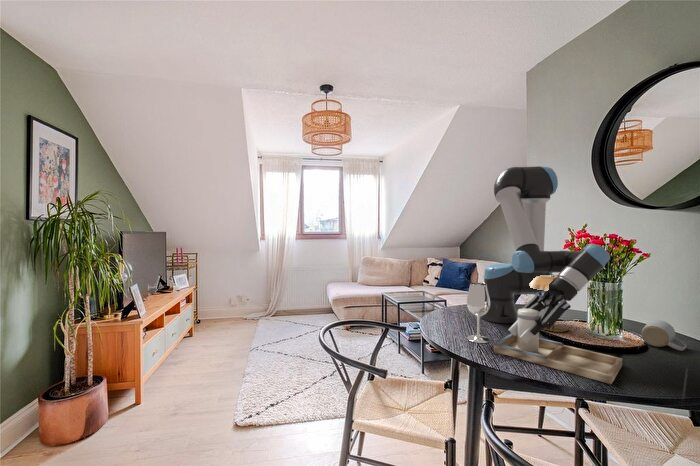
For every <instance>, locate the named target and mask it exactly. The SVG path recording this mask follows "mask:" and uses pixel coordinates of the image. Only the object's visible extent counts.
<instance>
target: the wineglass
mask: <svg viewBox="0 0 700 466" xmlns="http://www.w3.org/2000/svg"><path fill="white" fill-rule="evenodd" d="M466 306H467V309H468V310H469V312H470V313H471V314H472V315H473V316H476V323H477V324H476V325H477V326H476V327H477V328H476V329H477V330H476V332H477V333H476V334H470V335H468V336H467V338H466V340H468V341H470V342H472V343H475V344H476V343H477V344H486V343H487V344H488V343H489V342H490V340H491V339H490V337H489V338H488V337H486V336H483V335H481V334H480V322H481V321H480V319H481V317H480V316H482V315H485V314H486V313H487V312H488V311H489V309H490V297H489V291H488V287H487V284H485V283H484V282H471V283H470V284H469V288H468V292H467V298H466Z"/></svg>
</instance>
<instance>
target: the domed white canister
mask: <svg viewBox="0 0 700 466" xmlns="http://www.w3.org/2000/svg"><path fill="white" fill-rule="evenodd" d="M517 314H518V348H519V349H521V350H525V351H530V352H536V351H538V350H539V338H540V331H539V332H538V333H537V334H536V335H535V336H534V337H533V338H532V339H531V340H530V341H529V342H528V343H525V342H524V341H523V340H522V339H521V338H520V336H521V335H522V334H523V333H524V332H525V331H526V329H527V328H528V327H529V326H530V325H531V324H532V323H533V322H535V320H538V319H539V317H540V312H539V311H537V310H534V309H526V308H523V307H522V308H518V309H517ZM535 323H536V322H535ZM536 324H537V323H536Z"/></svg>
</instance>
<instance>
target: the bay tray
mask: <svg viewBox="0 0 700 466" xmlns="http://www.w3.org/2000/svg"><path fill="white" fill-rule="evenodd" d="M493 354H496V355H499V354H500V355H505V356H509V357H512V358H516V359H519V360H522V361H527V362H529V363H533V364H537V365H540V366H544V367H548V368H551V369H555V370H559V371H563V372H565V373H568V374H569V373H570V374H573V375H577V376H580V377H584V378H586V379H591V380H594V381H598V382H602V383H605V384H608V385H613V382H614V381H615V379H616V377H617V376H618V373H620V370H621V369H622V367H623V358H622V357H618V356H613V355H610V354H605V353H601V352H595V351H593V350H592V351H591V350H589V349H583V348H578V347H574V346H570V345H565V344H563V342H559V341H554V340H551V339H546V338H542V337H539V350H538V351H536V352H530V351H525V350H521V349H519V348H518V333H517V334H516V335H515V336H514V335H513V334H512V333H511V332H510V333H509V334H508V335H506V336H504V337H503V338H501V339H499V340H497V341H496V342H494V343H493Z"/></svg>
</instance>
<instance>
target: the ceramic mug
mask: <svg viewBox="0 0 700 466" xmlns="http://www.w3.org/2000/svg"><path fill="white" fill-rule="evenodd" d="M641 338H642V339H643V341H644V342H645V343H646V344H647V345H650V346H652V347H656V348H661V347H666V346H669V347H670V348H672V349H674V350H676V351H684V350H685V349H686V348H687V344H686V343H684V342H683V341H682V340H680V339H679V338H677V337H676V329H674V327H673V326H672V325H671V324H670V323H668V322H667V321H664V320H661V319H653V320H650V321H647V323H646V325H645V326H644V327H643V328H642V329H641Z"/></svg>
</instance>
